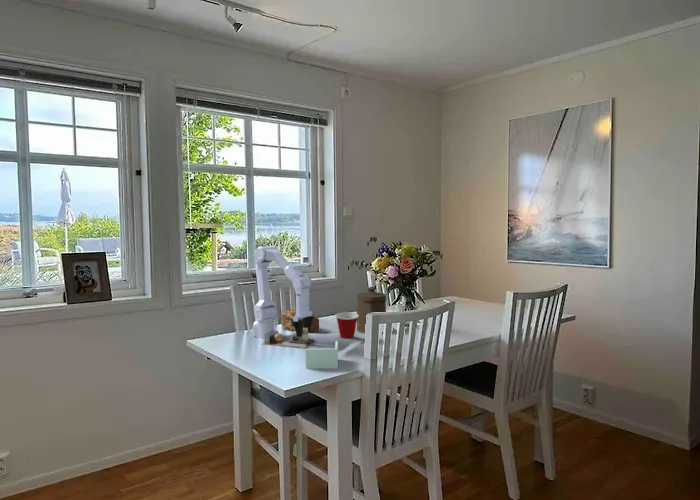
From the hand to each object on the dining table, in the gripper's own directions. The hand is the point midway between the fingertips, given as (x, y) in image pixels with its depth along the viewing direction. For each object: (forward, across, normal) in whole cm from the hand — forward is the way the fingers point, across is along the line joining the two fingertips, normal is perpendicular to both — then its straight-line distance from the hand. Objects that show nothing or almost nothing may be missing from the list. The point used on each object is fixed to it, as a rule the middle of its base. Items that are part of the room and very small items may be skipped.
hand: (303, 334), depth 217 cm
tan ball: (+4, 0, +12) cm, 13 cm away
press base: (+6, 0, +7) cm, 9 cm away
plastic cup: (+6, +19, -13) cm, 24 cm away
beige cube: (+4, 0, +1) cm, 5 cm away
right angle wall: (+6, -18, -17) cm, 26 cm away
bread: (+6, +29, +17) cm, 34 cm away
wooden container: (+6, +42, -17) cm, 46 cm away
